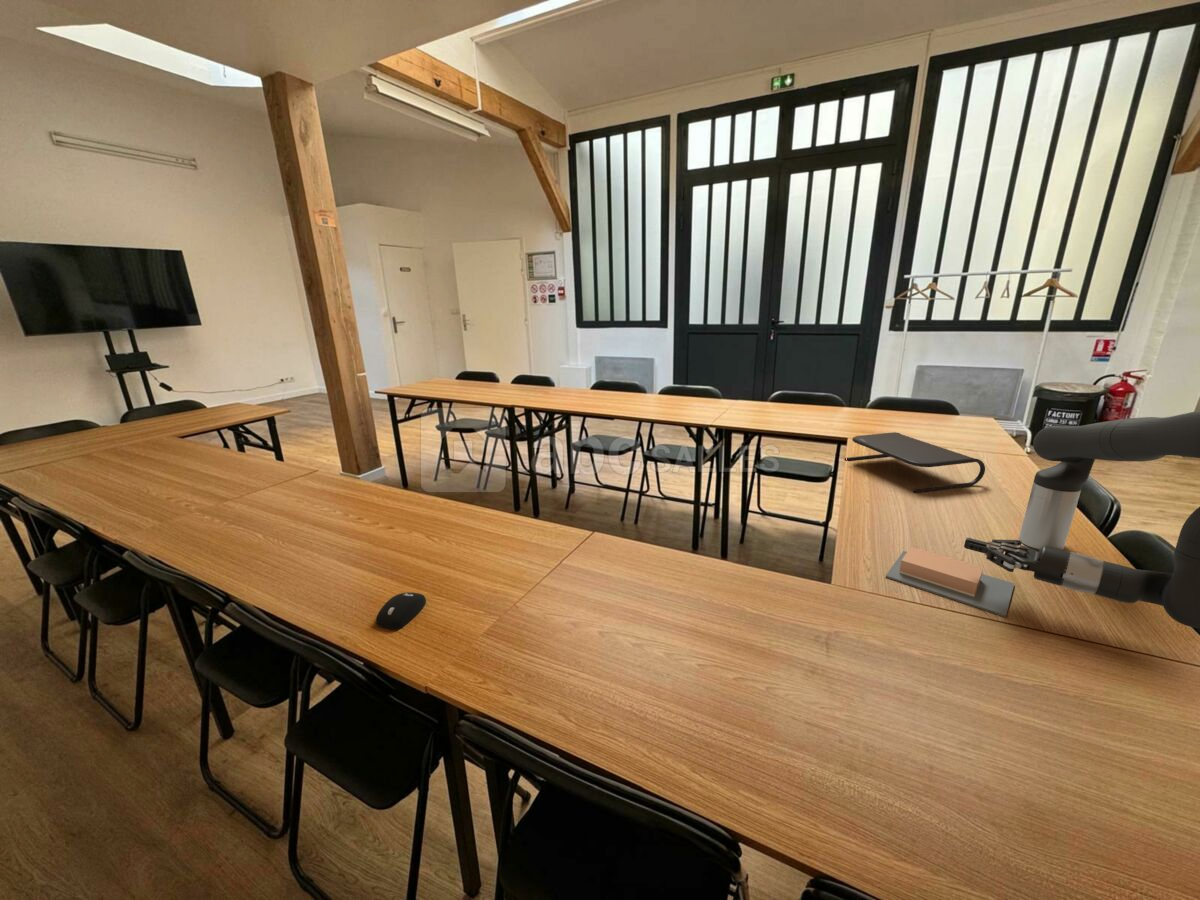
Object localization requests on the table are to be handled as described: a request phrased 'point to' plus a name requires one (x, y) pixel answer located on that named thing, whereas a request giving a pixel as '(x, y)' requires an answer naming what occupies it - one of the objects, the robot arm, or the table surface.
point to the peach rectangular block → (942, 570)
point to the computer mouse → (400, 610)
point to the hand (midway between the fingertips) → (965, 542)
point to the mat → (987, 597)
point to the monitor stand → (915, 455)
